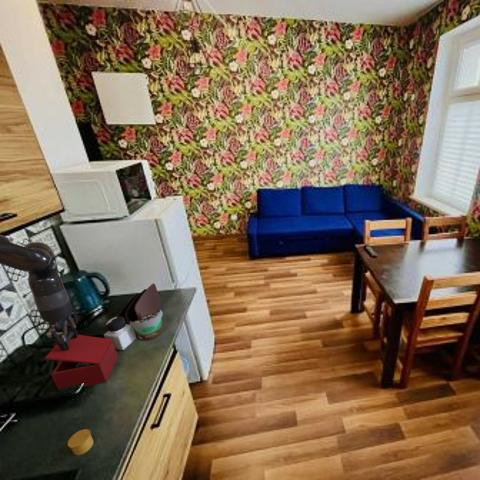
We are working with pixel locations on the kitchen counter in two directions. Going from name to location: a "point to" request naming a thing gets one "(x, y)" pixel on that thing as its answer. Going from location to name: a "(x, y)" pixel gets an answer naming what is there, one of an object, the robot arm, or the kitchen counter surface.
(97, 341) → the box lid
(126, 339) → the medicine bottle
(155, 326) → the food container
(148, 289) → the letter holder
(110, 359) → the maroon rectangular box
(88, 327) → the kitchen counter surface
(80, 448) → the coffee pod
